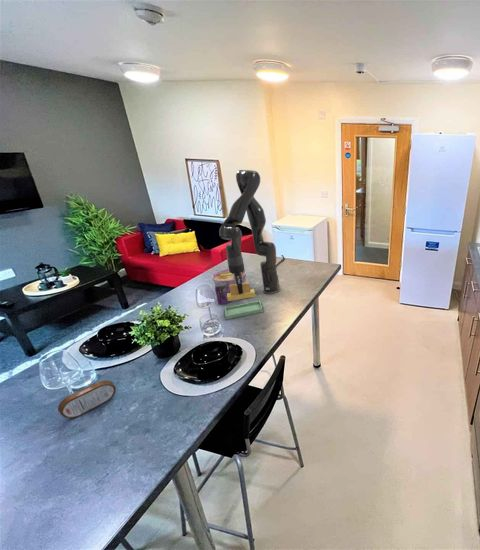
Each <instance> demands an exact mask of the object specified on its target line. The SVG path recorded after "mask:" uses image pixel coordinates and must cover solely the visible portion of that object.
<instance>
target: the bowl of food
mask: <svg viewBox="0 0 480 550" xmlns="http://www.w3.org/2000/svg"><path fill="white" fill-rule="evenodd" d="M241 274H242V282H246V277H247V271H246V269H245V270H244V271H243V272H241ZM211 279H212V282H213V283H214V285H215V284H216V283H219V282H226V283H227V285H228V289H229V293H231V292H230V287H229V285H231V284H236V282H235V279H234V274H232V273H230V272H229V268H224V269H221V270H218V271H216V272H214V273H213V274H212V275H211Z"/></svg>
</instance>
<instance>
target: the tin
mask: <svg viewBox="0 0 480 550" xmlns="http://www.w3.org/2000/svg"><path fill="white" fill-rule="evenodd" d="M116 392H117V388H116V385H115V383H113V382H112V381H111V380H108V379H107V380H100V381H97V382H94V383H93V384H90V385H88V386H86V387H84V388H81V389H80V390H78V391H76V392H73V393H71V394H68V395H66V397H64V398H63V399H62V400H61V401H60V402H59V404H58V406H57V411H58V413H59V414H60V416H62V417H63V418H66V419H75V418H77V417H80V416H82V415H84V414H86V413H87V412H90V411H91V410H94V409H95V408H97V407H99V406H101V405H103V404H105V403H107V402H109V401H110V400H111V399H112V398H113V397H114V396H115V394H116Z"/></svg>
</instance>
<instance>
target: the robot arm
mask: <svg viewBox="0 0 480 550" xmlns="http://www.w3.org/2000/svg"><path fill="white" fill-rule="evenodd" d="M235 178H236V179H235V180H236V184H237V187H238V190H239V192H240V196H239V197H238V198H237V199H236V200H235V201H234V202H233V203H232V205H231V207H230V210H229V212H228V216H227V217H226V218H225V220H224V221H223V223H222V224H221V226H220V227H219V230H218V233H219V237H220V238H221V239H222V240H226V241H227V240H228V241H231V242H230V243H228V244H226V245H225V252H226V260H227V266H228V267H227V268H228V269H229V272H230V273H232V274H234V279H235V282H236V284H237V288H238V292H239V294H242V293H243V289H242V287H243V286H242V283H243V282H242V274H241V272H243V271H244V270H245V271H246V269H245V263H244V258H243V254H242V247H241V246H242V238H243V233H242V230H241V229H240V228H239V227H238V226H237V225H242V223H243V221H244V218H245V216H247V219H248V222H249V226H250V230H251V234H252V240H253V246H254V251H255V253H256V255H258V256H260V257H265V259H264V260H262V261H261V262H260V271H261V272H260V273H261V279H262V287H263V292H264V293H265V294H268V295H270V294H271V295H272V294H277V293H278V292H279V291H280V282H279V275H278V270H277V267H278V266H279V265H280V264H281V263H282V262H283V261H284V260H285V256H284V255H283V254H282V255H280V256H281V257H282V259H281V260H280V261H279V262H278V263H277V248H276V245H275V243H274V242H272V241H265V240H264V235H263V231H264V228H265V226H266V223H267V219H266V215H265V211H264V208H263V206H262V205H261V203H260V202H259V201H258V200H257V198H256V197H255V194H256V193H257V191H258V189H259V187H260V185H261V175H260V173H259V172H258V171H256V170H253V169H238V170H237V171H236V174H235Z"/></svg>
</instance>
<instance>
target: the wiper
mask: <svg viewBox="0 0 480 550" xmlns="http://www.w3.org/2000/svg"><path fill="white" fill-rule="evenodd" d="M242 286H243V287H242V289H243V293H242V294H239V292H238V288H237V284H231V285H229V287H230V292H231V293H227V299H228V301H229V302H231V301H238V300H242V299H243V300H245V299H249V298H254V297H256V292H255V289H254V288H251V286H250V281H245V282H243V283H242Z"/></svg>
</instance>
